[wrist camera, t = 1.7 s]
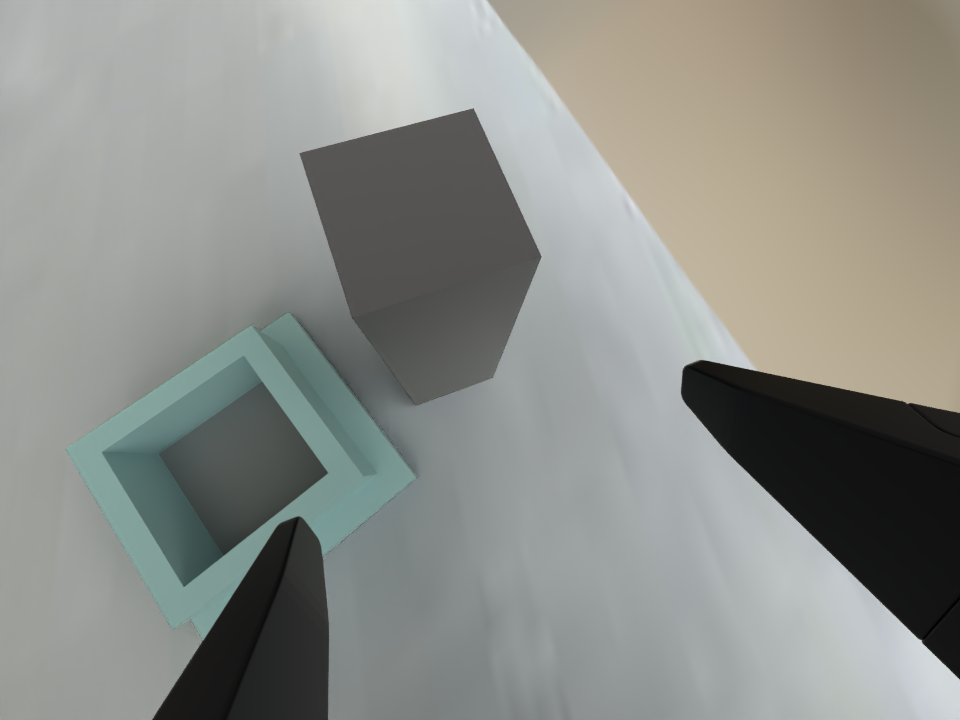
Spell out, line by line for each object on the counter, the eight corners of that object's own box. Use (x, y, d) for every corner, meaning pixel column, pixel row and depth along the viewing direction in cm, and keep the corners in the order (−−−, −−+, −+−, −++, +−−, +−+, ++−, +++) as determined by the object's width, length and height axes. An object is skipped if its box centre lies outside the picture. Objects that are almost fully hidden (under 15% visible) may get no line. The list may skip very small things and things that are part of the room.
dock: (418, 477, 20) (408, 480, 16) (223, 640, 18) (157, 690, 14) (296, 318, 22) (261, 286, 18) (105, 448, 19) (17, 444, 16)
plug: (492, 377, 21) (541, 256, 9) (416, 405, 21) (352, 317, 8) (465, 307, 22) (473, 108, 10) (390, 331, 22) (299, 153, 9)
